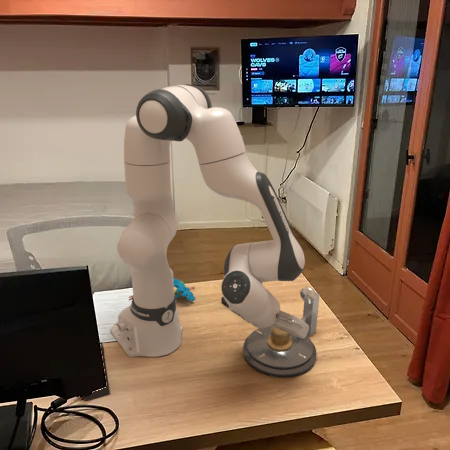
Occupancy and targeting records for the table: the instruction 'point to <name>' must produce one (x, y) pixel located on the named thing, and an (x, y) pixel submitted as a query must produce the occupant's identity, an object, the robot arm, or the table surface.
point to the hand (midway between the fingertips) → (279, 324)
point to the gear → (182, 290)
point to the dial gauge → (310, 308)
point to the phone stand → (106, 390)
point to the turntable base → (277, 372)
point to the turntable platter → (276, 359)
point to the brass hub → (279, 340)
